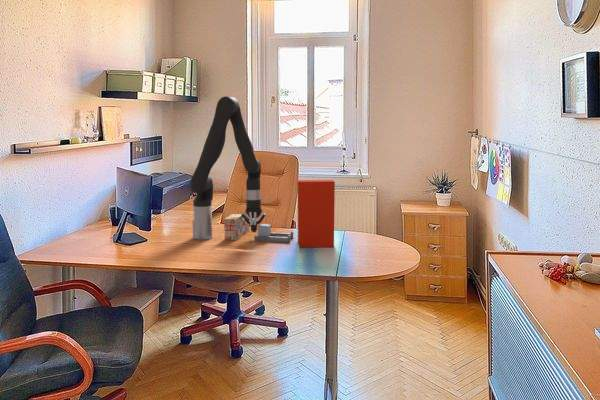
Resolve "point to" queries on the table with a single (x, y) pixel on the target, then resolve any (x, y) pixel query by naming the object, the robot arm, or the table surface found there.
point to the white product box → (235, 227)
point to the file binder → (316, 213)
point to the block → (264, 230)
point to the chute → (275, 237)
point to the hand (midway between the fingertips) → (254, 231)
